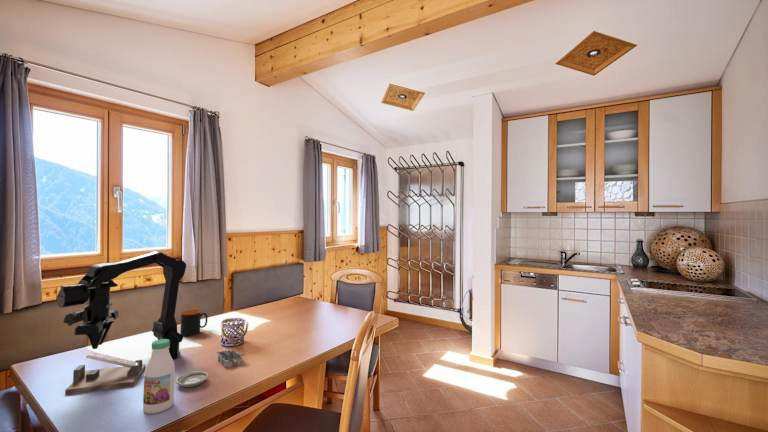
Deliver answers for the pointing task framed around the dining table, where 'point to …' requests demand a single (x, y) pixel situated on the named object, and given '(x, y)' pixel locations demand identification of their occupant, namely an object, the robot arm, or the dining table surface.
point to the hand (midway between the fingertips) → (97, 346)
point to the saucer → (191, 378)
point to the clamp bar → (111, 359)
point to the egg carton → (229, 358)
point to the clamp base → (104, 378)
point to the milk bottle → (159, 379)
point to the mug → (191, 323)
